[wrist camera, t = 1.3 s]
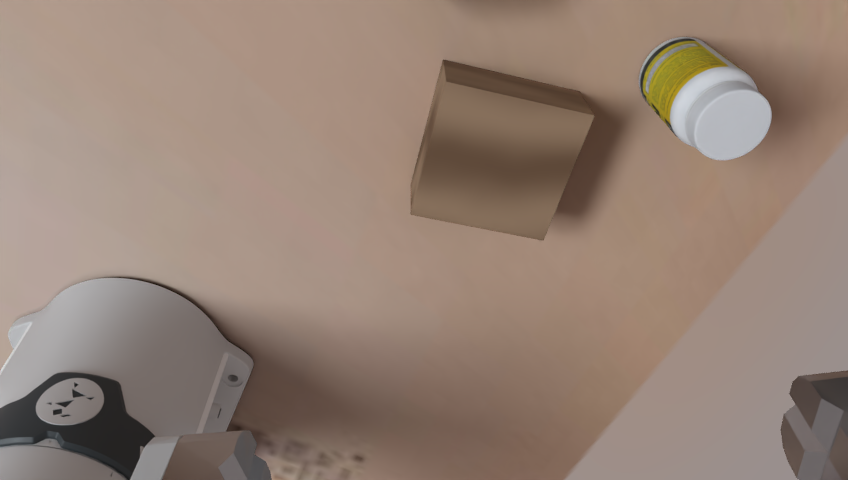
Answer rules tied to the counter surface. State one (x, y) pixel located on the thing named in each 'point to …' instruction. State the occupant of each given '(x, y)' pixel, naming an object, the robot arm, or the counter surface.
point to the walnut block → (497, 150)
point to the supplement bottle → (704, 98)
